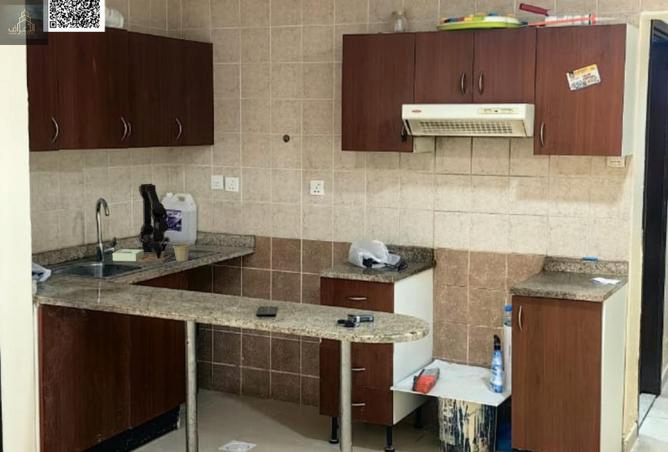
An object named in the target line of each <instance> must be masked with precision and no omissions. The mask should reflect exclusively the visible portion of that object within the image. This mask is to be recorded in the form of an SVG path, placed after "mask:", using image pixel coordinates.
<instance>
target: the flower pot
mask: <svg viewBox="0 0 668 452" xmlns="http://www.w3.org/2000/svg"><path fill="white" fill-rule="evenodd" d="M190 246H191V244H190V243H178V244H177V243H176V244H173V245H172V247H173V250H174V255H175V261H177V262H184V261H188V260H189V250H190Z"/></svg>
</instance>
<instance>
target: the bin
mask: <svg viewBox="0 0 668 452" xmlns="http://www.w3.org/2000/svg"><path fill="white" fill-rule="evenodd" d="M123 252H132V253H123ZM143 256H145V252H144V250H142V249H129V248H127V249H125V248H124V249H123V248H121V249H119V250H116V251H114V252H113V253H112V261H114V262H120V261H121V262H138V261H137V259H139V258H141V257H143Z"/></svg>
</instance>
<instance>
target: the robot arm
mask: <svg viewBox="0 0 668 452" xmlns="http://www.w3.org/2000/svg"><path fill="white" fill-rule="evenodd" d="M138 192H139V196H141V198H142V213H143V214H142V222H143V224H142V226H141V228H140V231H139V234H138V242H139V243H141V250H144V253H154V252H156V255H157V258H160V255H161V252H162V251H164V252H165V251H166V249H167V246H168V243H170V242H171V241H170V240H171V239H170V237H168V236H165V233H166V232H167V231H168V230H169V223H168V222H167V221H166V220H168V217H169V215H168V212H167V210H166V208H165V206H164V204H163V203H162V202H160V199H159V197H158V193H157V188H156V184H153V183H141V184H140V185H139V186H138Z"/></svg>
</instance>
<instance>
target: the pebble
mask: <svg viewBox="0 0 668 452" xmlns="http://www.w3.org/2000/svg"><path fill="white" fill-rule="evenodd" d="M154 252H155V251H154ZM154 254H156V252H155V253H154ZM164 254H165V251H162V252H161V255H160V258H157V255H156V259H163V258H164Z"/></svg>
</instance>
